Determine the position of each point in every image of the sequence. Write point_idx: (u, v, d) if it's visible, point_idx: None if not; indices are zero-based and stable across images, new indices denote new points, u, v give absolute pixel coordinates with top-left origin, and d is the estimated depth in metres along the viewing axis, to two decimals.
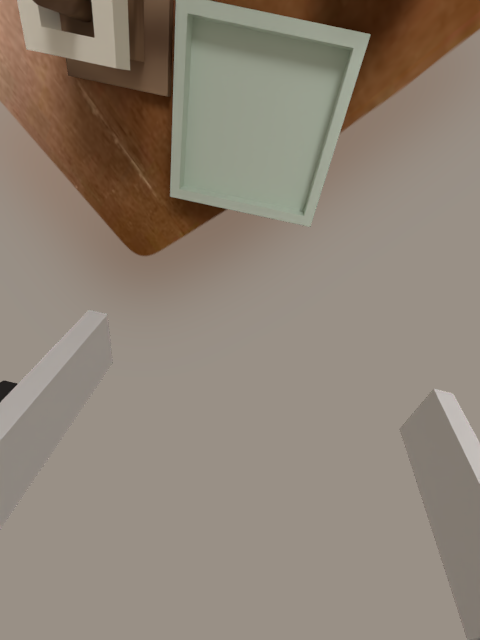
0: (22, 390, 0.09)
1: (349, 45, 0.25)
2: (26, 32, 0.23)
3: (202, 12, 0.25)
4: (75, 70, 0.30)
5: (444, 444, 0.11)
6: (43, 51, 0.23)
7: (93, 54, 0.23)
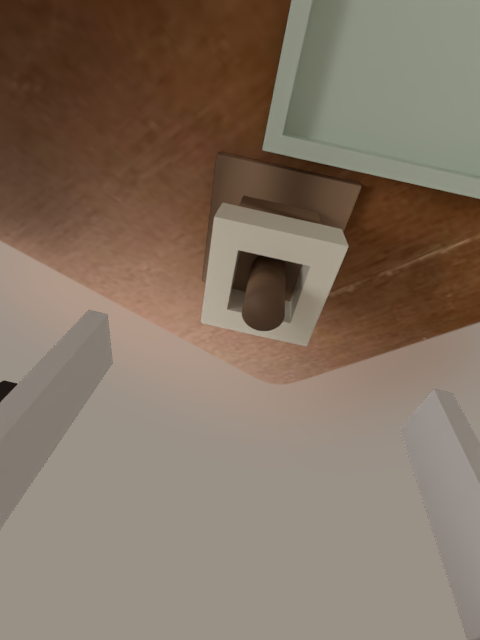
0: (22, 390, 0.09)
1: None
2: (292, 340, 0.20)
3: (284, 108, 0.18)
4: None
5: (445, 444, 0.11)
6: (311, 330, 0.19)
7: (326, 272, 0.17)
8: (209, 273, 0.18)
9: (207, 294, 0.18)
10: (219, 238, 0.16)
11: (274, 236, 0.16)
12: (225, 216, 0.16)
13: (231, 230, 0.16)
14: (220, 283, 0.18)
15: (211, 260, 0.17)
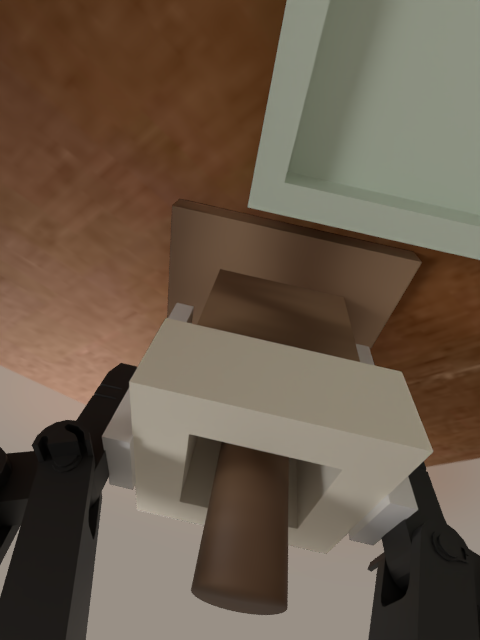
0: None
1: None
2: (301, 545, 0.11)
3: (288, 133, 0.09)
4: None
5: None
6: (337, 540, 0.10)
7: (376, 480, 0.08)
8: (138, 458, 0.09)
9: (141, 481, 0.10)
10: (147, 414, 0.08)
11: (265, 422, 0.07)
12: (156, 377, 0.07)
13: (171, 406, 0.07)
14: (162, 471, 0.09)
15: (138, 442, 0.08)
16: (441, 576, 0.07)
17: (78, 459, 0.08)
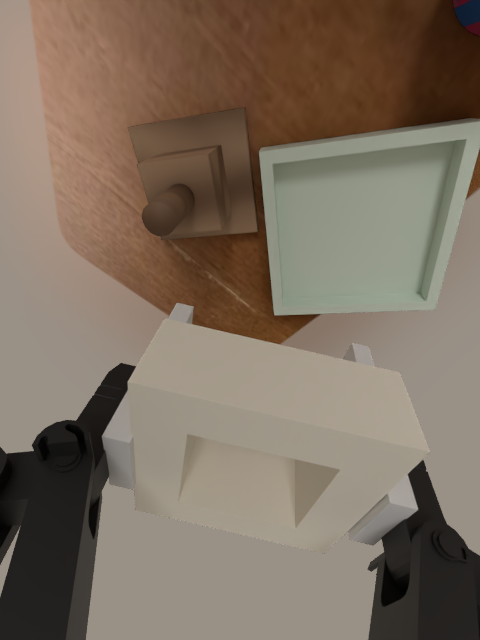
0: None
1: (461, 137, 0.22)
2: (299, 545, 0.11)
3: (288, 158, 0.25)
4: (167, 234, 0.31)
5: None
6: (335, 539, 0.10)
7: (373, 481, 0.08)
8: (137, 458, 0.09)
9: (140, 481, 0.10)
10: (146, 414, 0.08)
11: (263, 423, 0.07)
12: (154, 377, 0.07)
13: (169, 406, 0.07)
14: (161, 471, 0.09)
15: (136, 442, 0.08)
16: (441, 576, 0.07)
17: (78, 459, 0.08)
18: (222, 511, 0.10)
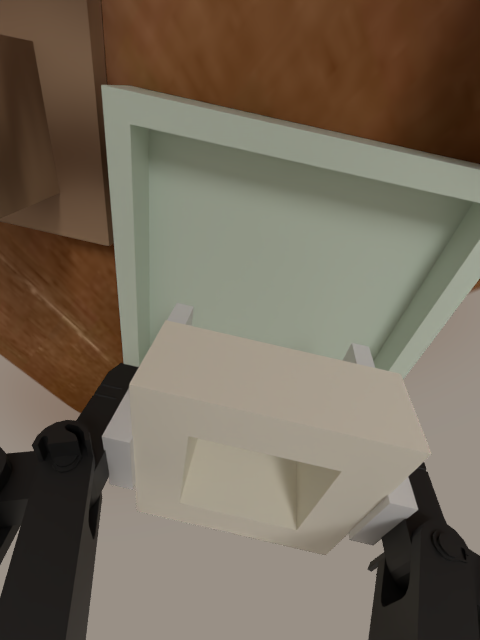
0: None
1: None
2: (300, 546, 0.11)
3: (164, 125, 0.11)
4: None
5: None
6: (336, 541, 0.10)
7: (375, 482, 0.08)
8: (138, 459, 0.09)
9: (141, 482, 0.10)
10: (147, 416, 0.08)
11: (264, 424, 0.07)
12: (156, 379, 0.07)
13: (171, 408, 0.07)
14: (162, 473, 0.09)
15: (138, 444, 0.08)
16: (441, 576, 0.07)
17: (78, 459, 0.08)
18: (223, 513, 0.10)
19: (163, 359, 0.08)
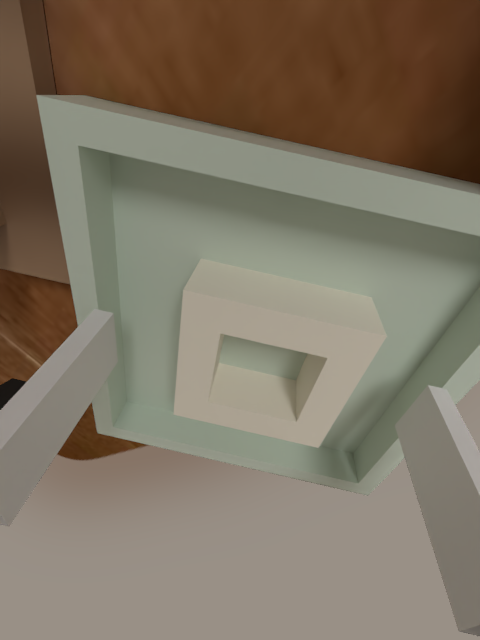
0: (31, 388, 0.09)
1: None
2: (299, 440, 0.14)
3: (121, 146, 0.09)
4: None
5: (438, 439, 0.11)
6: (326, 431, 0.14)
7: (351, 367, 0.11)
8: (181, 359, 0.12)
9: (180, 383, 0.13)
10: (192, 318, 0.11)
11: (274, 319, 0.11)
12: (200, 288, 0.11)
13: (209, 309, 0.11)
14: (198, 372, 0.13)
15: (183, 344, 0.12)
16: None
17: None
18: (241, 409, 0.14)
19: (203, 279, 0.11)
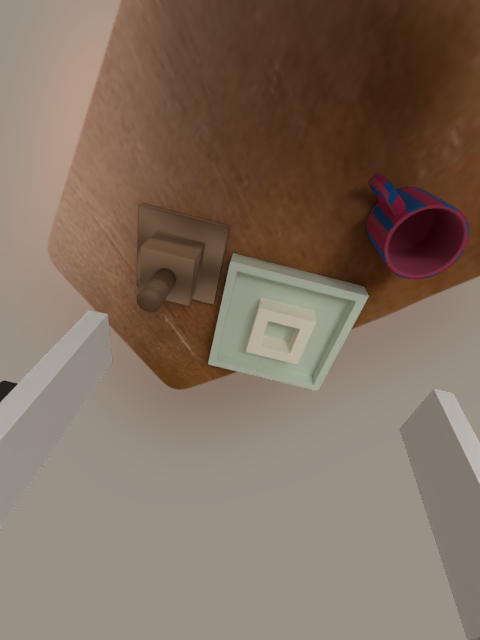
0: (22, 390, 0.09)
1: (353, 299, 0.35)
2: (290, 361, 0.40)
3: (248, 272, 0.35)
4: None
5: (444, 444, 0.11)
6: (300, 356, 0.40)
7: (307, 332, 0.37)
8: (253, 329, 0.38)
9: (251, 338, 0.39)
10: (260, 316, 0.37)
11: (284, 316, 0.36)
12: (263, 307, 0.36)
13: (266, 313, 0.37)
14: (258, 334, 0.38)
15: (255, 324, 0.38)
16: None
17: None
18: (271, 348, 0.39)
19: (263, 304, 0.37)
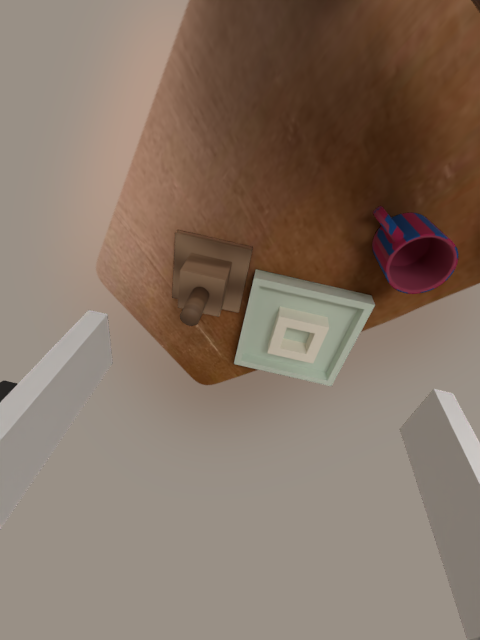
0: (22, 390, 0.09)
1: (362, 308, 0.40)
2: (307, 360, 0.46)
3: (270, 286, 0.40)
4: (177, 295, 0.45)
5: (444, 444, 0.11)
6: (315, 357, 0.45)
7: (321, 336, 0.43)
8: (274, 334, 0.44)
9: (272, 342, 0.45)
10: (280, 323, 0.43)
11: (301, 323, 0.42)
12: (282, 315, 0.42)
13: (285, 320, 0.42)
14: (278, 338, 0.44)
15: (275, 330, 0.43)
16: None
17: None
18: (289, 350, 0.45)
19: (282, 313, 0.43)
